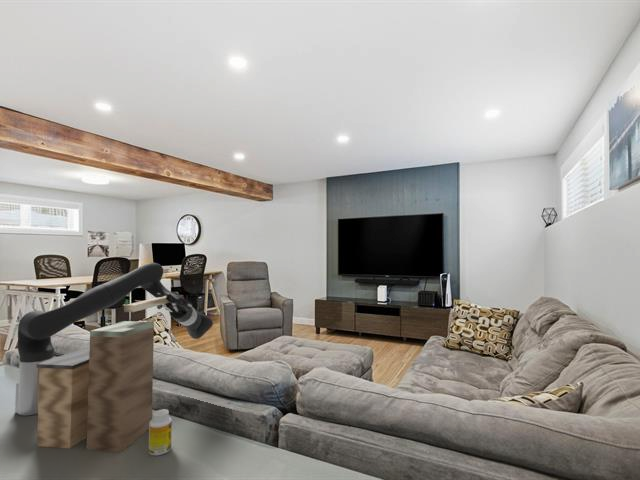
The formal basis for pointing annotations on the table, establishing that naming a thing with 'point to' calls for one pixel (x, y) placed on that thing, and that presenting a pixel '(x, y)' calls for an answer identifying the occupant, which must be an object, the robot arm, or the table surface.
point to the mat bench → (63, 400)
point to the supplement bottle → (160, 432)
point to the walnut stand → (119, 384)
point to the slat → (145, 304)
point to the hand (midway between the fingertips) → (162, 296)
